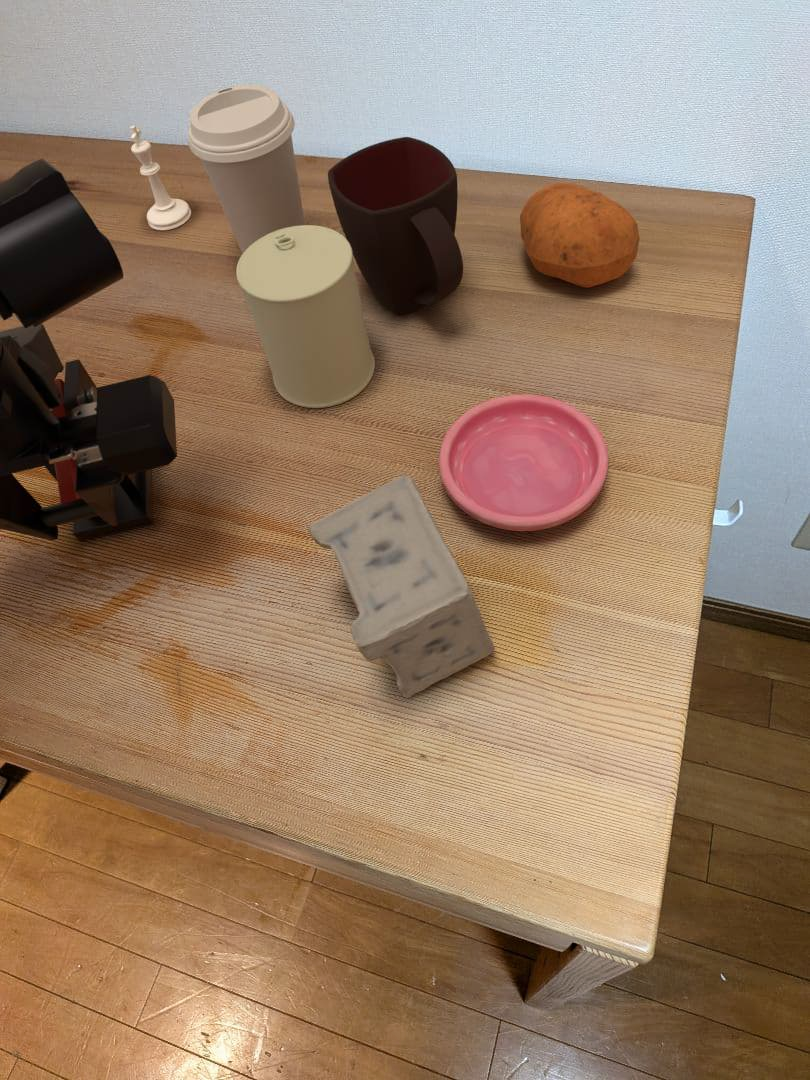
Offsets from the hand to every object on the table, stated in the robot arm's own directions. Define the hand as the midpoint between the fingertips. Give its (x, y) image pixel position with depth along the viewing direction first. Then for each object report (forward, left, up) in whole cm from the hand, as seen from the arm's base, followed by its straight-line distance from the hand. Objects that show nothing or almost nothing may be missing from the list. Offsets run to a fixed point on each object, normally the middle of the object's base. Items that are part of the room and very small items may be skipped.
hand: (86, 527), depth 53 cm
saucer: (+32, -1, -5) cm, 32 cm away
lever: (0, +5, +2) cm, 5 cm away
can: (+19, +16, -5) cm, 25 cm away
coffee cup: (+17, +34, -5) cm, 38 cm away
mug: (+29, +22, -5) cm, 36 cm away
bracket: (0, +8, -5) cm, 9 cm away
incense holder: (+21, -11, -5) cm, 25 cm away
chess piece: (+6, +46, -5) cm, 46 cm away
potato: (+44, +22, -5) cm, 49 cm away
